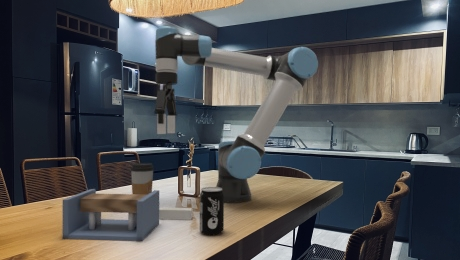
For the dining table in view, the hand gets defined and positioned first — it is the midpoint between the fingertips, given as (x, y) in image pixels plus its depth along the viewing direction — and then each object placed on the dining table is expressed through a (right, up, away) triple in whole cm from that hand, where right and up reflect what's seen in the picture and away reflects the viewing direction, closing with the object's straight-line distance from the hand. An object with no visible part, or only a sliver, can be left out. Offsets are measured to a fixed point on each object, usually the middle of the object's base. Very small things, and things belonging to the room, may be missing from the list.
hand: (166, 133), depth 117 cm
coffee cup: (-11, -27, +8) cm, 30 cm away
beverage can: (+17, -27, -25) cm, 40 cm away
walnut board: (-10, -21, -24) cm, 33 cm away
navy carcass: (-10, -27, -24) cm, 37 cm away
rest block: (+5, -27, -11) cm, 29 cm away
